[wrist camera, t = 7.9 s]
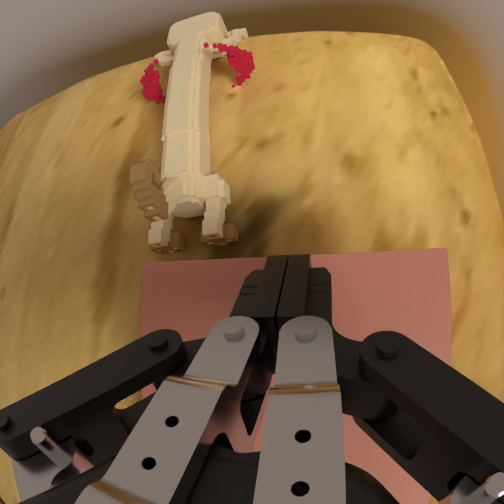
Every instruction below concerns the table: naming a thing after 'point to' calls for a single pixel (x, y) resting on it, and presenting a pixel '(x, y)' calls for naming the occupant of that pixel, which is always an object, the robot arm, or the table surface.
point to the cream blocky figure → (188, 135)
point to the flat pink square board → (343, 319)
